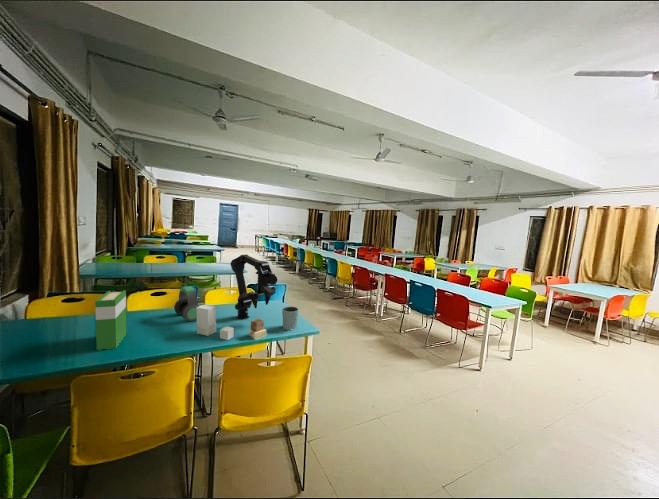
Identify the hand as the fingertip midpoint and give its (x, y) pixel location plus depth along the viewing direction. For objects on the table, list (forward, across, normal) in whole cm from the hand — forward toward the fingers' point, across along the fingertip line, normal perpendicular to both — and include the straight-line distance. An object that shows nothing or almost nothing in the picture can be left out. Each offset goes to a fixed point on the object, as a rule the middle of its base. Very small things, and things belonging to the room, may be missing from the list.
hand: (261, 306), depth 167 cm
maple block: (+12, -12, -10) cm, 20 cm away
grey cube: (+12, -24, +1) cm, 27 cm away
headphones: (+12, -22, +43) cm, 50 cm away
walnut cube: (+8, -12, -10) cm, 17 cm away
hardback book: (+12, -63, +39) cm, 75 cm away
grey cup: (+12, +9, -16) cm, 22 cm away
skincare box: (+12, -28, +14) cm, 34 cm away
